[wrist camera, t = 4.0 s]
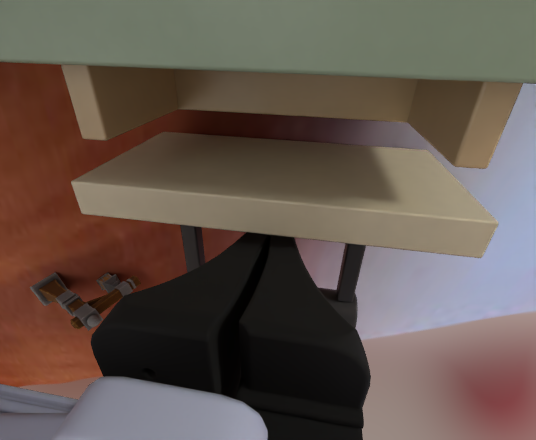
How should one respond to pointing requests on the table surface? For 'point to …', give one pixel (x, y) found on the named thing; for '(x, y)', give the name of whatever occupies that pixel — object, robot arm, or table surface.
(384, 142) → the table surface
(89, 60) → the cabinet
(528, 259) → the table surface
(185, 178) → the drawer
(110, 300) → the wooden post with brackets
